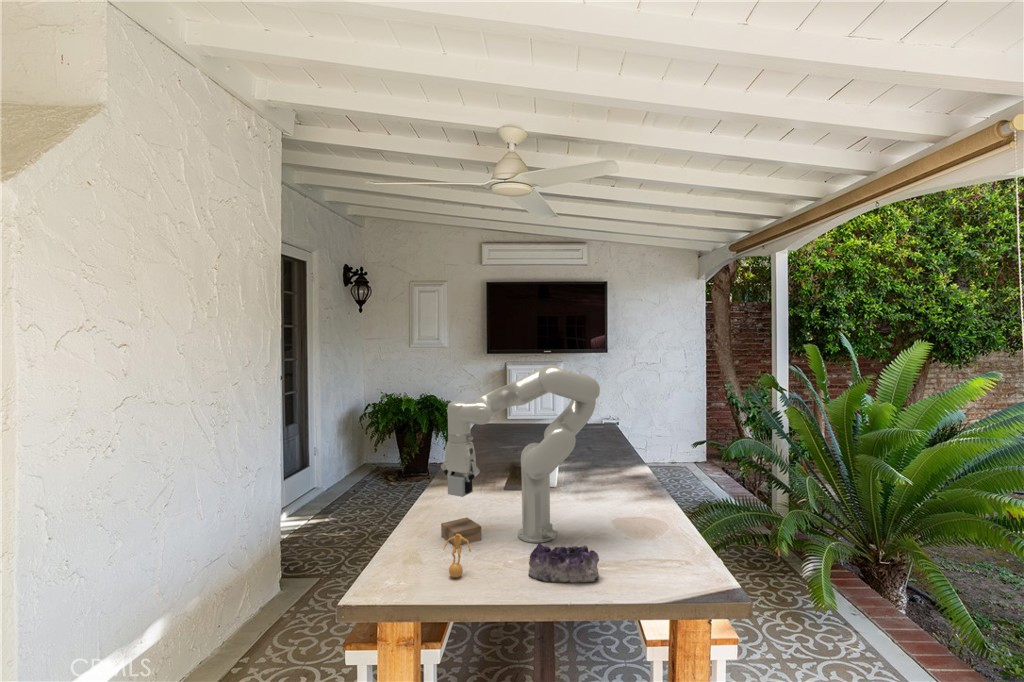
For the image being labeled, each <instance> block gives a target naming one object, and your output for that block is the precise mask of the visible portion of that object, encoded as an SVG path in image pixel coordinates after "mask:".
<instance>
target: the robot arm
mask: <svg viewBox="0 0 1024 682" xmlns="http://www.w3.org/2000/svg"><path fill="white" fill-rule="evenodd" d="M549 393H550V394H553V395H556V396H559V397H561V398H566V399H570V402H569V403H568V405H567V406H566V407H565V409H563V411H562V412H561V413H560V414H559V415H558V416H557V417H556V418H555V419H554V420H553V421H552V422H551V423H550V424H549V425H547V427H546V428H545V430H544V432H543V437H544V438H543V439H542V440H541V441H540V442H539V443H538V442H531V443H528V444H527V445H526V446H524V448H523V449H522V451H521V455H520V468H521V469H520V470H521V471H520V472H521V473H520V474H521V515H522V516H521V519H522V520H521V522H522V523H521V525H522V527H521V528H520V529H519V530H518V532H517V536H518V538H519V539H520V541H521V540H522V541H523V542H527V543H534V544H536V543H537V544H538V543H541V544H542V543H545V542H550V541H552V540H555V539H556V538H557V536H558V534H559V531H558V530H556V529H553V524H552V523H551V494H550V493H551V482H550V480H551V479H550V477H551V474H552V473H553V472H554V471H555V470H556V469H557V468H558V467H559V466H560V465H561V464H562V463H563V462H564V461H565V460H566V459H567V458H568V457H569V456H570V454H571V453H572V452H573V451H574V449H575V446H576V441H577V440H576V435H578V434H579V432H580V431H581V430H582V429H583V428H584V427H585V425H586V424H587V423H588V422H589V421H590V420H591V418H592V416H593V414H594V412H595V408H596V402H597V399H598V398H599V396H600V394H601V387H600V385H599V383H598V381H597V380H596V379H595V378H593V377H592V376H590V375H588V374H586V373H579V374H578V373H576V372H571V371H567V370H564V369H562V368H560V367H558V366H557V365H554V364H547V365H544V366H542V367H540V368H538V369H536V370H535V371H532V372H530V373H529V374H527V375H524V376H522V377H520V378H519V379H516V380H513V381H511V382H510V383H508V384H506V385H504V386H501V387H499V388H496V389H494V390H492V391H490V392H488V393H486V394H484V395H481V396H480V397H478V398H477V399H475V400H474V401H473V402H472V403H469V402H468V401H466V400H454V401H450V402H449V403H448V405H447V442H446V447H445V455H444V456H445V457H444V462H443V463H441V465H440V468H441V470H442V471H443V473H444V475H446V479H447V480H448V476H450V475H453V474H455V473H457V472H458V473H464V475H465V478H466V482H465V494H468V493H470V492H472V480H473V481H474V479H475V478H476V477H477V476H478V475H479V474H480V472H481V471H480V469H479V467H478V466H477V459H476V451H475V446H474V442H472V441H473V440H474V436H472V434H471V424H473V425H487V424H488V423H489V422H491V421H492V419H493V416H494V415H495V414H497V413H499V412H500V411H503V410H506V409H508V408H511V407H515V406H516V407H518V406H524V405H527V404H528V403H530V402H532V401H534V400H537V399H538V398H541V397H542V396H545V395H547V394H549ZM468 474H469V475H468ZM472 493H473V492H472ZM470 494H471V493H470ZM468 495H469V494H468Z"/></svg>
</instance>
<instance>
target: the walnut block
mask: <svg viewBox="0 0 1024 682" xmlns="http://www.w3.org/2000/svg"><path fill="white" fill-rule="evenodd" d="M440 526H441V527H440V528H441V532H440V533H441V534H440V535H441V538H442V539H443V538H444V539H443V540H445V542H447V540H448V539H449V538H452V537H453V536H456V534H461V536H462V537H464V538H465V539H467V540H468V541H469V544H472V543H475V542H479V541H482V525H480V524H478V523H477V522H476V521H474V520H472V519H470V518H469V517H468V516H467V517H463V518H459V519H454V520H451V521H446V522H442V523H441V524H440ZM448 544H450V545H451V544H452V545H451V546H452V547H453V546H455V542H454V539H453V540H449V542H448ZM464 545H468V544H467V542H466V541H464V540H462V541H461V544H460V546H461V547H462V546H464Z"/></svg>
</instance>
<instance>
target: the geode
mask: <svg viewBox="0 0 1024 682" xmlns="http://www.w3.org/2000/svg"><path fill="white" fill-rule="evenodd" d="M528 560H529V561H528V565H529V566H528V567H529V568H528V577H529V578H530V579H532V580H536V581H538V582H541V583H542V582H551V583H554V582H556V583H557V582H559V583H571V584H575V583H588V582H589V583H590V582H595V581H598V580H599V578H600V575H599V574H600V573H599V567H598V563H599V561H600V557H599V553H598V552H596V551H595V550H592V549H591V550H590V551H589V547H588V546H587V545H580V546H578V545H577V546H576V545H574V546H570V547H566V546H558V547H557V546H555V547H554V548H552V549H551V547H550V546H548V545H543V544H542V542H541V543H537V544H536V547H534V549H532V551H531V553H530V556H529V559H528Z"/></svg>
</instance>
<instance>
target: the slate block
mask: <svg viewBox="0 0 1024 682" xmlns="http://www.w3.org/2000/svg"><path fill="white" fill-rule="evenodd" d="M468 475H469V474H468ZM465 482H466V478H465V475H464V473H458V472H455V474H453V475H450V476H448V479H447V494H448V495H449V496H454V497H455V496H456V497H460V498H464V497H465V496H467V495H470V494H471V493H473V492H474V489H473V487H474V486H473V483H474V480H472V492H470V493H468V494H465Z"/></svg>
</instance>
